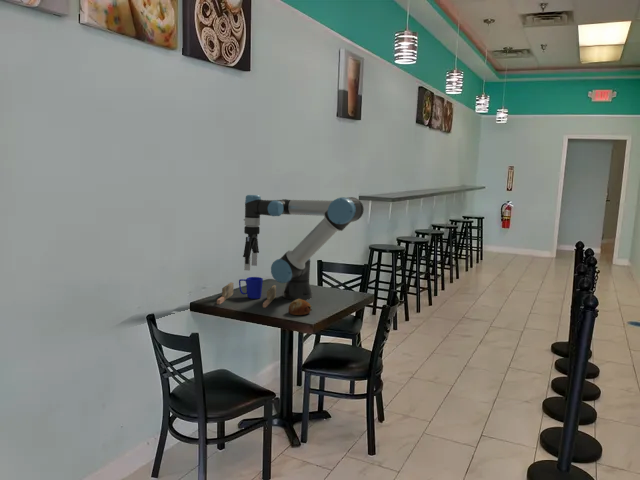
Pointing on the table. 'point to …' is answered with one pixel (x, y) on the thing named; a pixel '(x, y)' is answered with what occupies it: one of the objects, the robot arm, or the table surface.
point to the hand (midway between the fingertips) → (250, 267)
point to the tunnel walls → (228, 291)
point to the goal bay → (223, 300)
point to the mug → (253, 287)
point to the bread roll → (299, 307)
